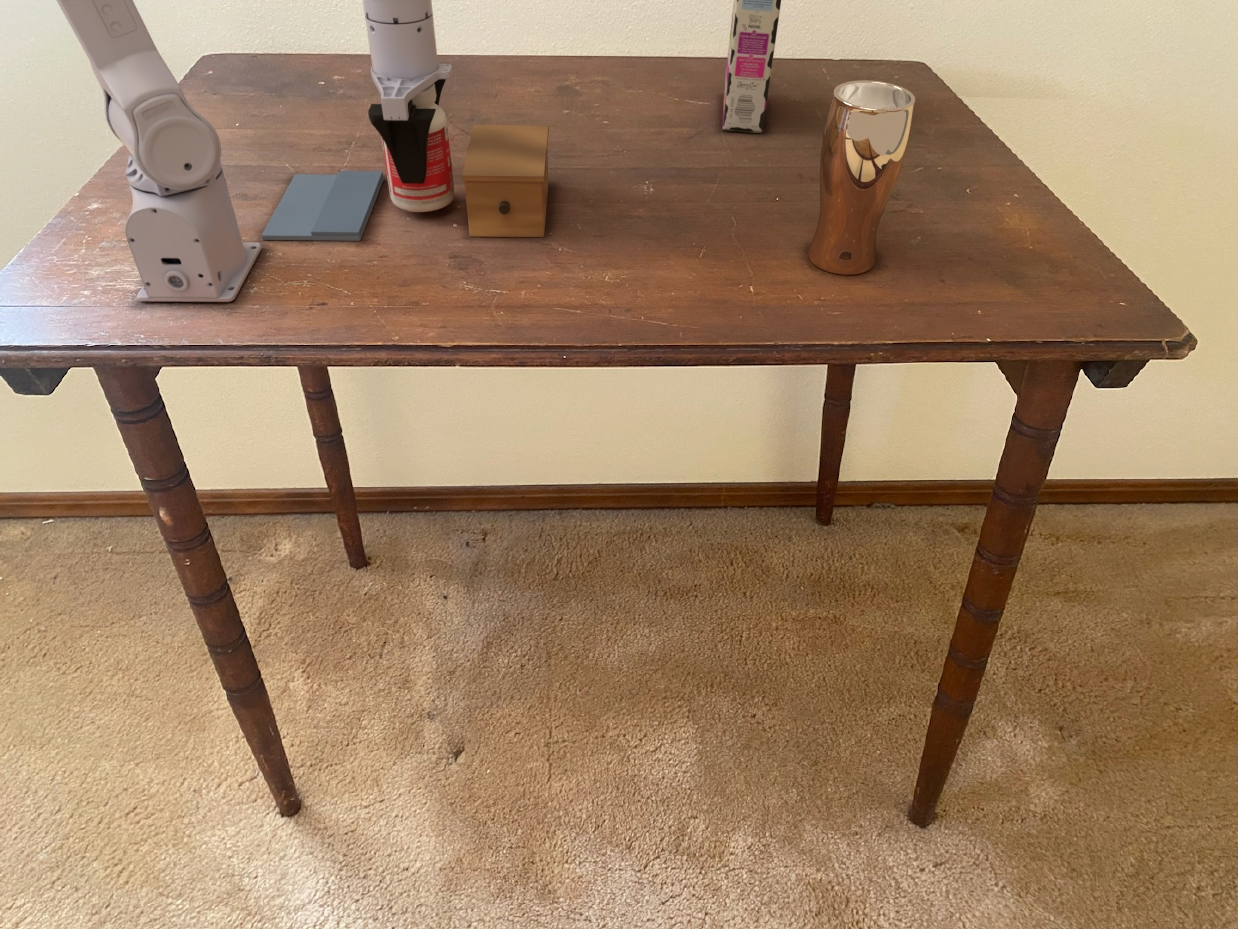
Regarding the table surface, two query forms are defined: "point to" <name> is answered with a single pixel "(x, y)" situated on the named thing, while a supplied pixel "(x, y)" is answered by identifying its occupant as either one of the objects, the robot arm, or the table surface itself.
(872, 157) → the beer glass
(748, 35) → the candy bar box
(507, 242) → the table surface
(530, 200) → the birch box
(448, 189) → the pill bottle
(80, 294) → the table surface
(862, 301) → the table surface
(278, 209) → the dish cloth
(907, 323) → the table surface
